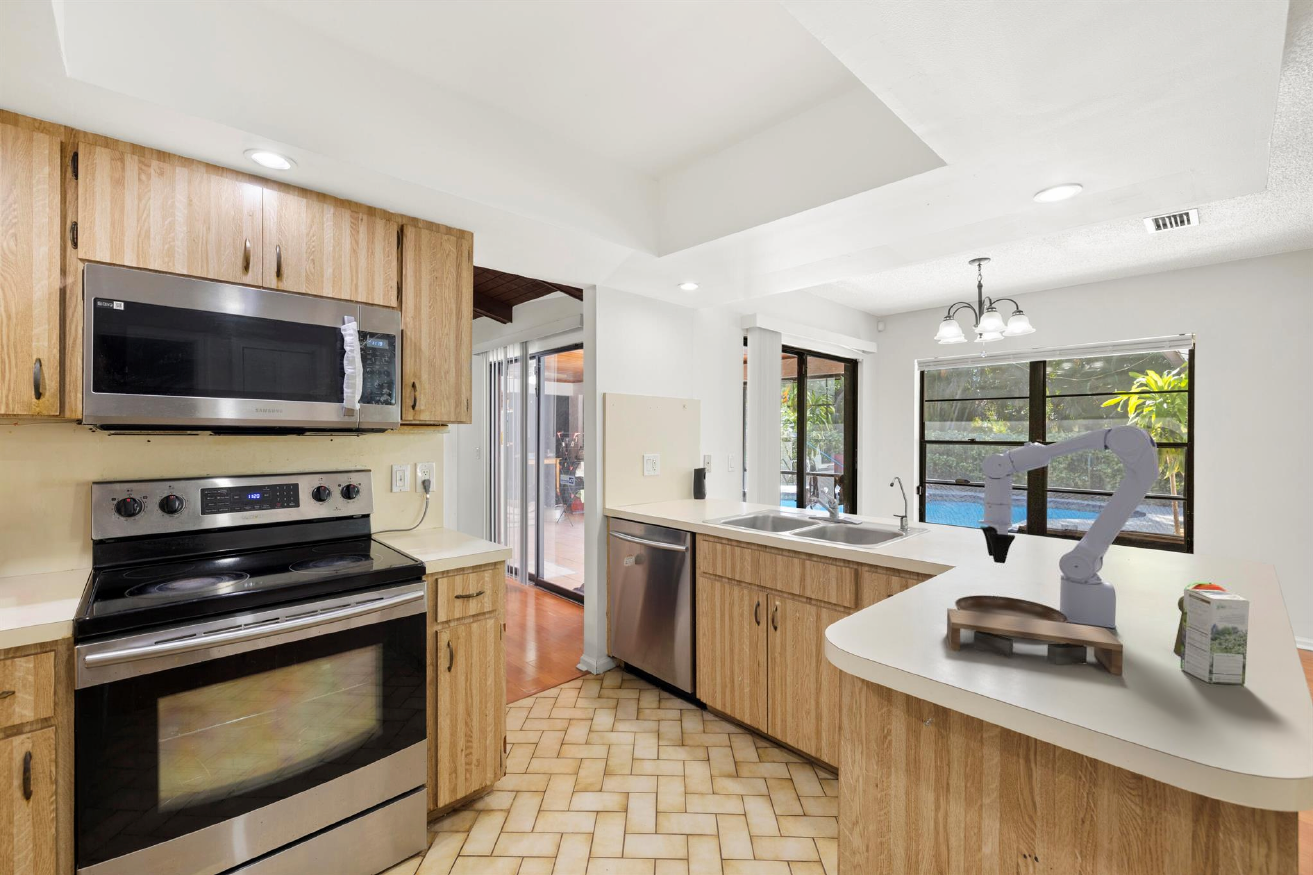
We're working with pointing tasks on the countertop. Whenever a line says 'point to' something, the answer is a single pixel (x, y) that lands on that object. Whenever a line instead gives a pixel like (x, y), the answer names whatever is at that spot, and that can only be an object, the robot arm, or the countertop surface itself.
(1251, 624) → the countertop surface
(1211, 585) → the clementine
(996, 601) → the plant saucer
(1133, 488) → the robot arm
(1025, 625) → the walnut shelf
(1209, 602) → the syrup box
